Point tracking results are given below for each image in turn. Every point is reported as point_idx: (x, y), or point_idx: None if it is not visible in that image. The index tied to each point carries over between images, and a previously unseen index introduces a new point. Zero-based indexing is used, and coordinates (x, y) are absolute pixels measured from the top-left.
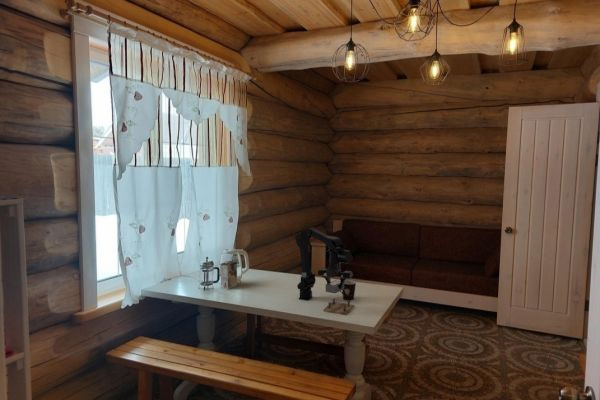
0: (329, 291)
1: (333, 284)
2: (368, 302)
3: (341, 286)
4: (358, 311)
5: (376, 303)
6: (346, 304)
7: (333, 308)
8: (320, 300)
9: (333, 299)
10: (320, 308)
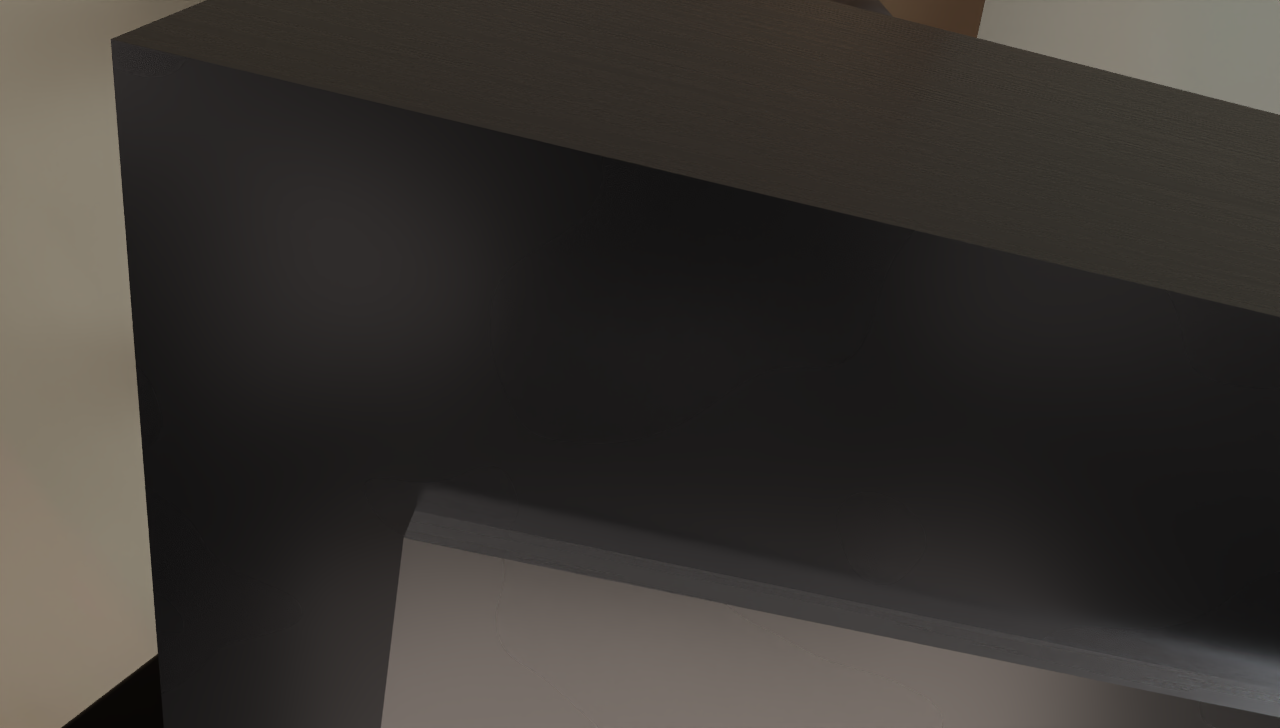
0: (989, 55)
1: (687, 676)
2: None
3: (95, 713)
4: (68, 200)
5: (31, 700)
6: None
7: None
8: None
9: None
10: (1151, 24)
